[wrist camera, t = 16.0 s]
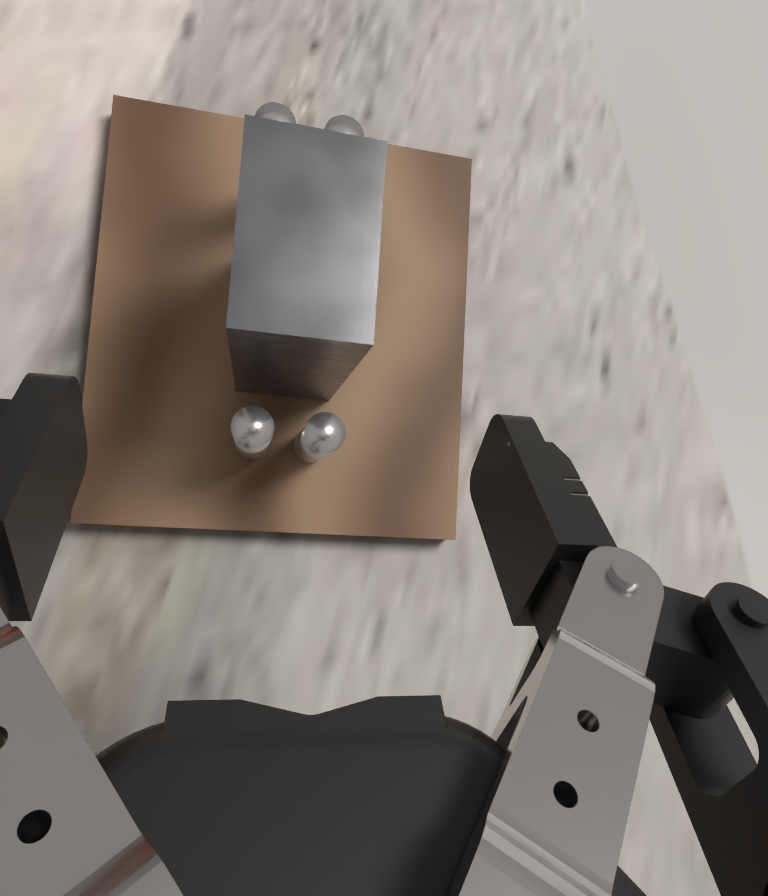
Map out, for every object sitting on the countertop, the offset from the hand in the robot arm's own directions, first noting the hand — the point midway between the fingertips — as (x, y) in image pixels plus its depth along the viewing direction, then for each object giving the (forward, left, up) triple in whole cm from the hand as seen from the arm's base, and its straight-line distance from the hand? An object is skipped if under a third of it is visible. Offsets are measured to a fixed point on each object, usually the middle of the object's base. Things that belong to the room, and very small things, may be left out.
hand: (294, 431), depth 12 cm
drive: (0, +6, -14) cm, 15 cm away
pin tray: (0, +6, -15) cm, 17 cm away
